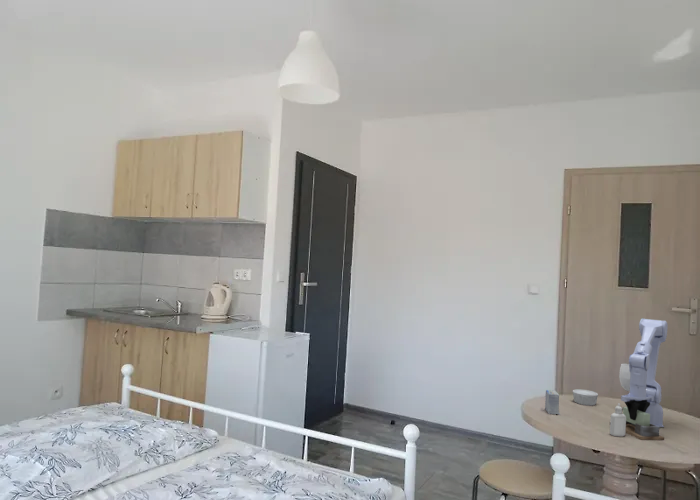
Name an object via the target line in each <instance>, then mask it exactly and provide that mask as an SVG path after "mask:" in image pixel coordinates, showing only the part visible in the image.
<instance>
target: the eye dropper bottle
mask: <svg viewBox="0 0 700 500" xmlns="http://www.w3.org/2000/svg"><path fill="white" fill-rule="evenodd" d="M609 434H610V435H611V436H613V437H625V436H626V416H625V415H624V414H623V407H621V403H617V404H616V406H615V409H614V412H613V413H611V414H610V421H609Z"/></svg>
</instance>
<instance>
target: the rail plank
mask: <svg viewBox="0 0 700 500" xmlns="http://www.w3.org/2000/svg"><path fill="white" fill-rule="evenodd" d="M622 414H624V415H625V416H626V421H628V422H630V423H633V424H635V423H637V424H639V425H642V426H650V414H648V413H645V412H642V411H639V410H637V416H636V420H632V419H630V415H629V411H628V408H627V406H623V407H622Z"/></svg>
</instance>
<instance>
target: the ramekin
mask: <svg viewBox="0 0 700 500" xmlns="http://www.w3.org/2000/svg"><path fill="white" fill-rule="evenodd" d="M598 396H599V394H598V392H596V391H593V390H588V389H573V390H572V397H573V401H574V402H575V403H576V404H578V405H583V406H589V407H590V406H591V407H592V406H595V405H596V404H597V402H598V398H599V397H598Z"/></svg>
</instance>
